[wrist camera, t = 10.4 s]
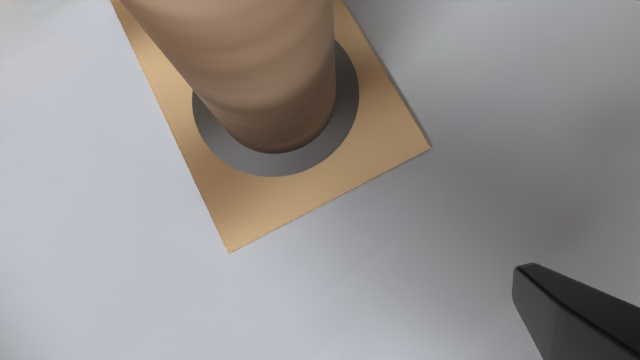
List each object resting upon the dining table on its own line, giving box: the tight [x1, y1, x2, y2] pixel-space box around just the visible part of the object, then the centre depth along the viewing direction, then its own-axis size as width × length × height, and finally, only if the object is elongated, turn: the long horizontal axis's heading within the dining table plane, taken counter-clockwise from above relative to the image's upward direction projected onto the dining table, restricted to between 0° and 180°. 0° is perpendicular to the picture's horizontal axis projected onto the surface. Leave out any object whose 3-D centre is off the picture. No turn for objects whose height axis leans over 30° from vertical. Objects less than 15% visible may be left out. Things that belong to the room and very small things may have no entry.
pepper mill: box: [119, 0, 336, 154], centre depth 12 cm, size 5×5×12 cm
